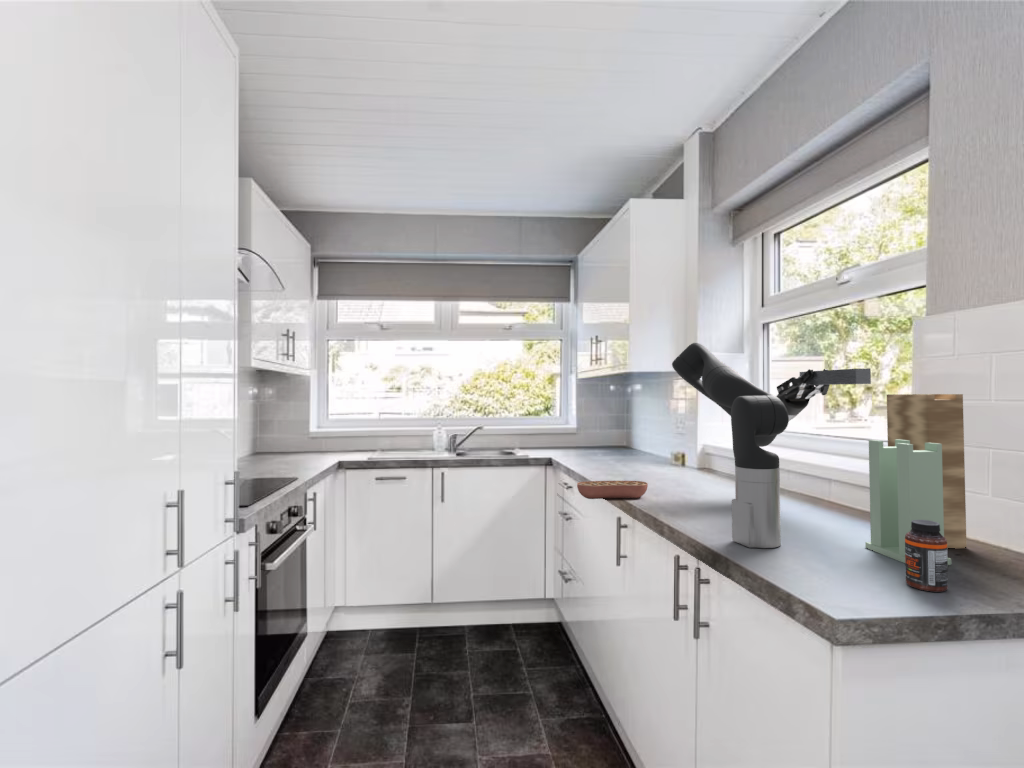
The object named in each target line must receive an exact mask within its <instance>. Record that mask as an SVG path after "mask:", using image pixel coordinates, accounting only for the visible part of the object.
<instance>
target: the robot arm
mask: <svg viewBox="0 0 1024 768" xmlns="http://www.w3.org/2000/svg"><path fill="white" fill-rule="evenodd" d="M671 366H672V369H674V371H675V372H676V373H677V375H679V376H680V377H681V378H682V380H684V381H685V382H687V383H688V384H689V385H690V386H691V387H693V388H694V389H695V390H697V391H698V392H699V393H701V394H702V395H704V396H705V397H706V398H708V399H709V400H711V401H712V402H713V403H715V404H716V405H718V406H719V407H720V408H721V409H722V410H723V411H724V412H726V414H728V415H729V417H730V425H731V437H732V452H733V457H734V471H735V472H734V478H735V480H734V481H735V482H734V485H735V486H734V489H735V498H732V499H731V534H732V536H731V537H732V540H731V541H732V542H734V543H738V544H740V545H742V546H745V547H747V548H759V549H774V548H777V547H778V548H779V547H780V546H781V545H782V538H781V537H782V536H781V535H782V533H781V532H782V531H781V529H782V528H781V491H780V490H781V487H780V480H781V479H780V458H779V455H778V454H777V453H776V452H775V453H774V452H771V451H769V450H765V449H764V448H762V447H766V446H769V445H770V444H772V443H773V441H774V440H775V439H776V438H777V436H778V435H781V434H782V433H783V432H785V431H786V430H787V427H788V425H789V422H790V421H791V420H793V419H794V418H796V417H797V416H798V415H799V414H800V413H801V412H802V411H803V410H804V409H806V408H807V406H808V405H809V403H810V400H811V398H813V397H815V396H816V395H817V394H821V395H822V396H826V395H827V394H828V391H829V390H830V389H829V388H830V386H831V385H806V383H808V382H809V381H810V380H811V379H812V378H813V377H814V372H813V371H814V369H812V368H810V369H807V371H804V372H805V373H804V374H803V375H802V376H800V375H799V376H798V377H797V378H796V377H794V376H793V377H791V378H789V379H787V380H786V381H784V382H782V383H781V384H779V385H777V386H776V390H777V393H778V394H776V395H774V394H772V393H770V392H768V391H765V390H764V389H761V388H760V387H758V386H757V385H755V384H754V383H752V382H751V381H749V380H748V379H746V377H744V376H743V375H741V374H740V373H739V372H738V371H736V370H735V369H733V368H732V367H731V366H729V365H727V364H726V363H725V362H723V361H721V360H720V359H719V358H718V357H717V356H716V355H715V354H714V353H712V351H711V350H709V348H707V347H706V346H705V345H704V344H702V343H698V342H692V343H691V344H689V345H688V346H687V347H686V348H685V349H684V350H682V352H681V353H680V354H679V355H678V356H677V357H676V358H675V359H674V360H673V361H672V363H671ZM825 370H829V369H828V368H824V369H823V370H822V371H825ZM790 384H791V385H790Z"/></svg>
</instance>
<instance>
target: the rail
mask: <svg viewBox="0 0 1024 768" xmlns="http://www.w3.org/2000/svg"><path fill="white" fill-rule="evenodd" d="M805 372H806V371H799V376H802V375H803V374H804V373H805ZM813 372H814V377H813V378H812V379H811V380H810V381H809V382H808V383H806V385H830V386H831V385H832V386H834V385H839V386H840V385H871V384H872V381H871V380H872V379H871V378H872V377H871V376H872V375H871V373H872V372H871V368H845V369H828V370H825V371H823V370H813Z"/></svg>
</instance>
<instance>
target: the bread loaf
mask: <svg viewBox="0 0 1024 768" xmlns="http://www.w3.org/2000/svg"><path fill="white" fill-rule="evenodd" d="M648 484H649V483H648V482H646V481H642V480H641V481H640V480H593V481H591V480H589V481H586V480H585V481H579V482H577V483H576V486H577V490H578V493H579V494H580V495H581V496H582V497H583V498H585V499H588V500H596V499H597V500H604V499H639V498H641V497H642V496H644V495H645V494H646V492H647V490H648Z"/></svg>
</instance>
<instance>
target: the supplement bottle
mask: <svg viewBox="0 0 1024 768" xmlns="http://www.w3.org/2000/svg"><path fill="white" fill-rule="evenodd" d="M911 528H912V529H911V531H910V532H908V533H907V534H906V535H905V563H904V564H905V565H904V567H905V568H904V569H905V571H904V573H905V582H906V584H907V585H908V586H910V587H911V588H914V589H917V590H918V591H923V590H924V591H925V592H929V591H930V592H931V593H942V592H946V591H947V590H948V588H949V573H948V572H949V569H948V567H949V565H948V558H949V557H948V549H947V540H946V538H945V537H944V536H942V535H941V534H940V532H939V531H940V524H939V523H937V522H934V521H929V520H912V521H911Z"/></svg>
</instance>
